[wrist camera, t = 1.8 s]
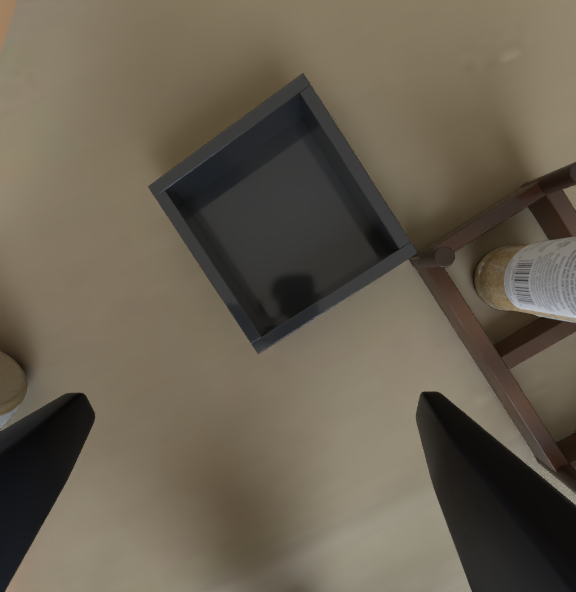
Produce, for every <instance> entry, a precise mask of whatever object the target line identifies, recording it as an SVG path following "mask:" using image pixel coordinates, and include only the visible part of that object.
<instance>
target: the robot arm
mask: <svg viewBox="0 0 576 592" xmlns="http://www.w3.org/2000/svg"><path fill="white" fill-rule="evenodd" d="M94 420H95V412H94V410H93V408H92V406H91V404H90V402H89V400H88V399H87V397H86V395H85V394H83V393H66V394H64V395H62V396H61V397H59V398H57V399H55V400H54V401H52V402H50V403H49V404H47V405H45V406H43V407H42V408H40V409H38V410H36V411H35V412H33V413H31V414H30V415H28V416H26V417H24V418H23V419H21V420H19V421H18V422H16V423H14V424H12V425H11V426H9V427H7V428H6V429H4V430H2V431H0V592H5V590H6V589H7V587H8V585H9V583H10V582H11V580H12V578H13V576H14V574H15V573H16V571H17V569H18V567H19V566H20V564H21V562H22V560H23V558H24V557H25V555H26V553H27V551H28V550H29V548H30V546H31V544H32V542H33V541H34V539H35V537H36V535H37V534H38V532H39V530H40V528H41V526H42V525H43V523H44V521H45V519H46V518H47V516H48V514H49V512H50V510H51V509H52V507H53V505H54V503H55V502H56V500H57V498H58V496H59V494H60V493H61V491H62V489H63V487H64V485H65V483H66V482H67V480H68V478H69V476H70V474H71V472H72V469H73V467H74V465H75V463H76V461H77V458H78V456H79V454H80V452H81V450H82V448H83V445H84V443H85V441H86V439H87V437H88V434H89V432H90V430H91V428H92V426H93V423H94ZM416 422H417V426H418V430H419V434H420V438H421V442H422V446H423V449H424V453H425V457H426V461H427V465H428V469H429V473H430V476H431V480H432V484H433V487H434V490H435V493H436V496H437V498H438V501H439V504H440V507H441V509H442V512H443V515H444V517H445V520H446V523H447V525H448V528H449V531H450V534H451V536H452V539H453V542H454V544H455V547H456V550H457V552H458V555H459V558H460V561H461V563H462V566H463V569H464V571H465V574H466V577H467V579H468V582H469V585H470V588H471V590H472V592H576V505H575V504H574V503H572V502H571V501H570V500H569V499H568V498H566V497H565V496H564V495H563V494H562V493H560V492H559V491H558V490H557V489H556V488H554V487H553V486H552V485H551V484H550V483H548V482H547V481H546V480H545V479H544V478H542V477H541V476H540V475H539V474H537V473H536V472H535V471H534V470H533V469H531V468H530V467H529V466H528V465H527V464H525V463H524V462H523V461H522V460H521V459H519V458H518V457H517V456H516V455H515V454H513V453H512V452H511V451H510V450H509V449H507V448H506V447H505V446H504V445H503V444H501V443H500V442H499V441H498V440H496V439H495V438H494V437H493V436H492V435H490V434H489V433H488V432H487V431H486V430H484V429H483V428H482V427H481V426H480V425H478V424H477V423H476V422H475V421H474V420H472V419H471V418H470V417H469V416H468V415H466V414H465V413H464V412H463V411H462V410H460V409H459V408H458V407H457V406H456V405H454V404H453V403H452V402H451V401H449V400H448V399H447V398H446V397H445V396H443V395H442V394H441V393H439V392H422V393H421V394H420V398H419V402H418V407H417V412H416Z"/></svg>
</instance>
